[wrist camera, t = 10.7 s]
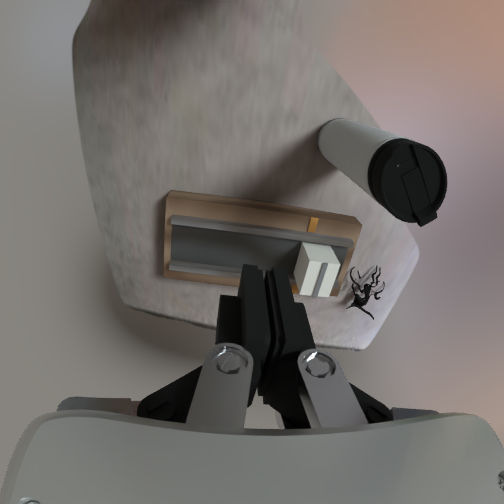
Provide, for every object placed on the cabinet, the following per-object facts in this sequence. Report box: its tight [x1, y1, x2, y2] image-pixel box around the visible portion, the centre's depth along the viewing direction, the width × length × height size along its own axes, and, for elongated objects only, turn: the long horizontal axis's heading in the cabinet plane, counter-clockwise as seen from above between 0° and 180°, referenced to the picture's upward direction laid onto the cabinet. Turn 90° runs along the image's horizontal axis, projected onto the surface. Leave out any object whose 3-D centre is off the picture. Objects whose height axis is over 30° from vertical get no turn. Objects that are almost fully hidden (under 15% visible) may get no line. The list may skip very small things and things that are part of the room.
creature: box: [346, 266, 385, 320], centre depth 46 cm, size 8×5×8 cm
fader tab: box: [294, 241, 340, 297], centre depth 39 cm, size 5×4×5 cm
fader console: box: [164, 190, 362, 296], centre depth 42 cm, size 12×26×4 cm, turn 81°
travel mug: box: [318, 118, 447, 227], centre depth 28 cm, size 6×7×20 cm
